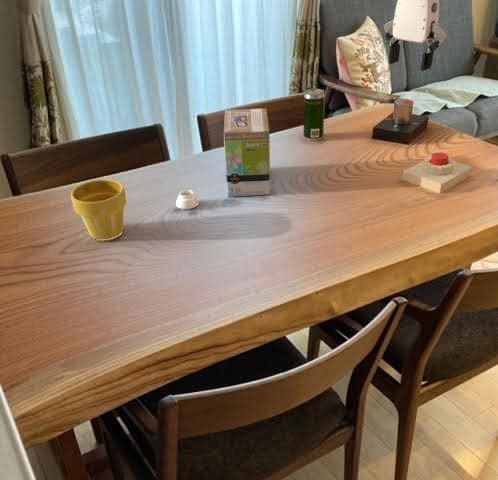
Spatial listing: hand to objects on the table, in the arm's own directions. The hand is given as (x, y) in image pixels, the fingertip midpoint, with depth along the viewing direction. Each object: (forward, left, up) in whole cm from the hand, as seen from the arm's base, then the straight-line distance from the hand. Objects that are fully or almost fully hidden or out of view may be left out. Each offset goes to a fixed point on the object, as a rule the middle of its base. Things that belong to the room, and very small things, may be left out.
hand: (409, 65), depth 135 cm
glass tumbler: (0, 0, -14) cm, 14 cm away
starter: (+17, +23, -17) cm, 33 cm away
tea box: (+48, -7, -17) cm, 51 cm away
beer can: (+18, -15, -17) cm, 29 cm away
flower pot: (+84, -10, -17) cm, 86 cm away
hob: (0, 0, -17) cm, 17 cm away
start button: (+17, +23, -13) cm, 31 cm away
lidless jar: (+65, -8, -17) cm, 68 cm away
